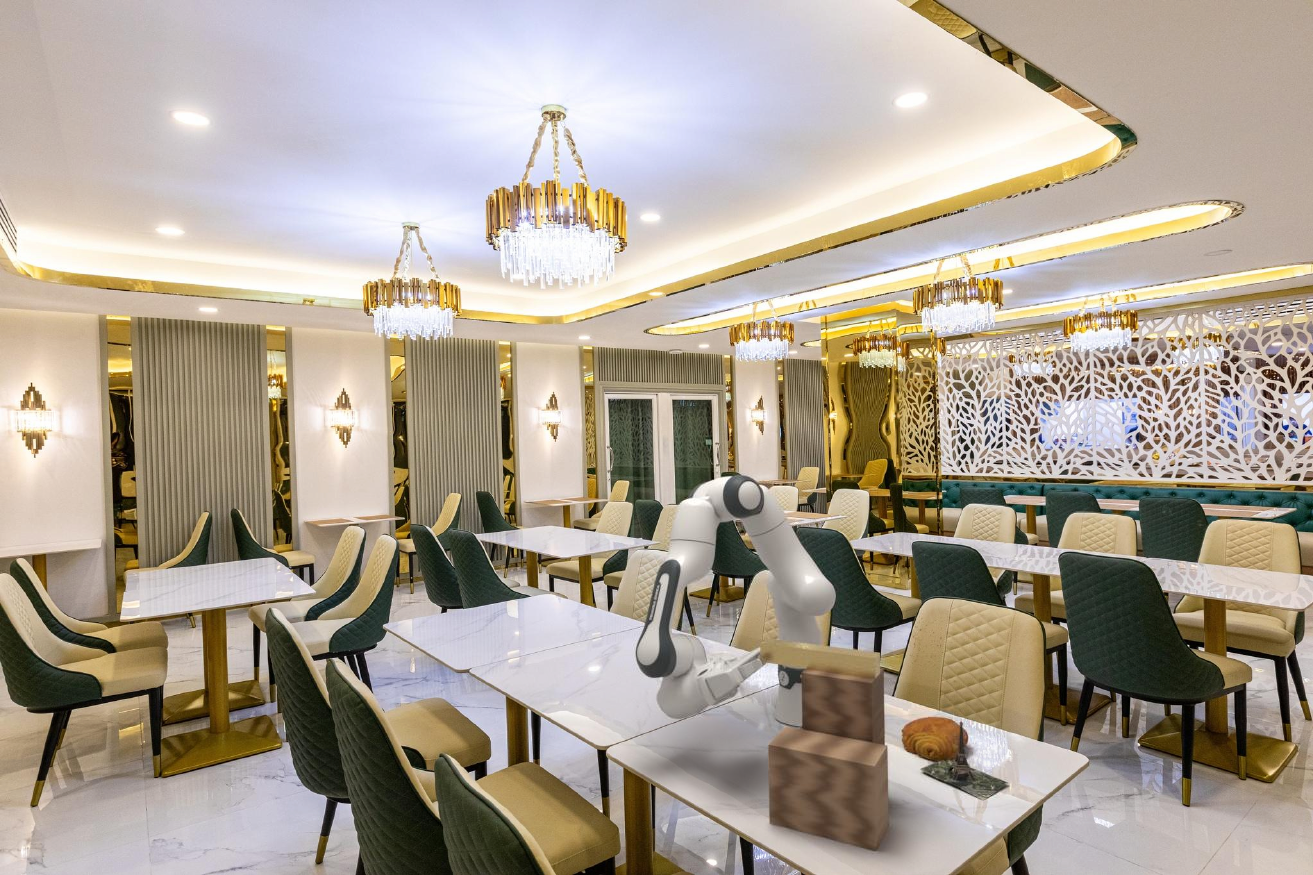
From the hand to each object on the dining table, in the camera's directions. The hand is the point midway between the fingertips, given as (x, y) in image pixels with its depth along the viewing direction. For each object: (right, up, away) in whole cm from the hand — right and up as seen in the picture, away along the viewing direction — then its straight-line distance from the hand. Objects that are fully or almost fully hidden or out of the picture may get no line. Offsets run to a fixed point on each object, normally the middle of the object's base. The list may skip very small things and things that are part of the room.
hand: (770, 655), depth 157 cm
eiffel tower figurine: (+41, -27, 0) cm, 49 cm away
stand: (+11, -27, -12) cm, 32 cm away
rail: (+9, -1, -5) cm, 11 cm away
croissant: (+41, -27, +16) cm, 52 cm away
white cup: (-5, -27, +58) cm, 64 cm away
